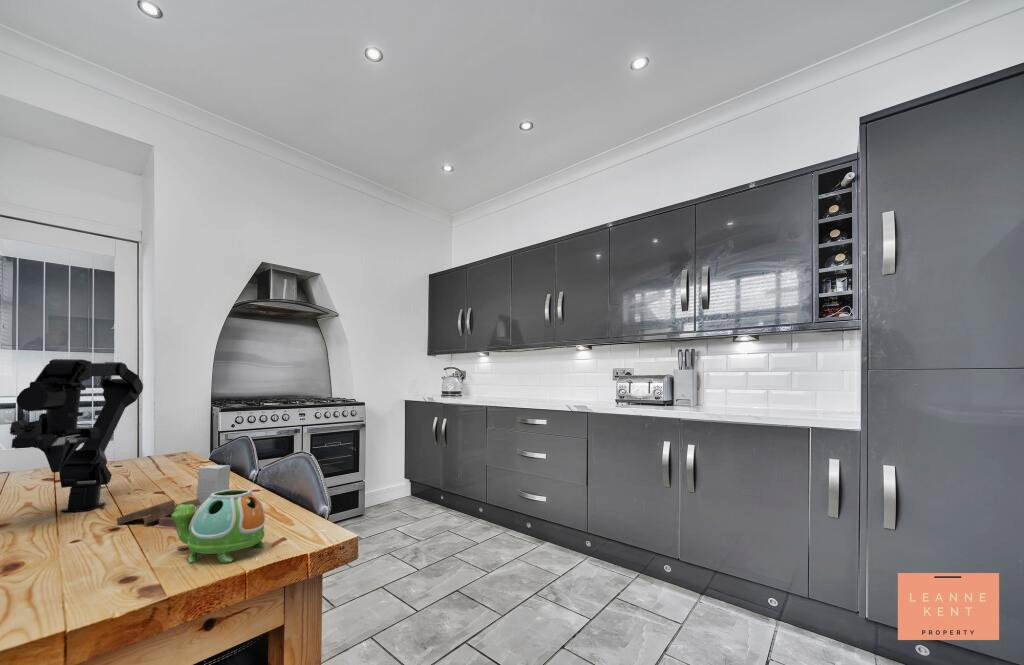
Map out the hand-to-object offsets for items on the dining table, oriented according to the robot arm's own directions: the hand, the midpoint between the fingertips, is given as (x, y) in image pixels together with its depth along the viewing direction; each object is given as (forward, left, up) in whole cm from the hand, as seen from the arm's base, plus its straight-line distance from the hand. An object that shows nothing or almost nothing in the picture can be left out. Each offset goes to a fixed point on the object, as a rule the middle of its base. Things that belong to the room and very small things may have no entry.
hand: (55, 472), depth 108 cm
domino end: (+6, +28, -12) cm, 31 cm away
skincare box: (-2, +35, -12) cm, 37 cm away
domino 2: (+5, +25, -11) cm, 28 cm away
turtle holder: (+28, +50, -12) cm, 59 cm away
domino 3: (+6, +29, -11) cm, 32 cm away
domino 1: (+3, +18, -11) cm, 21 cm away
